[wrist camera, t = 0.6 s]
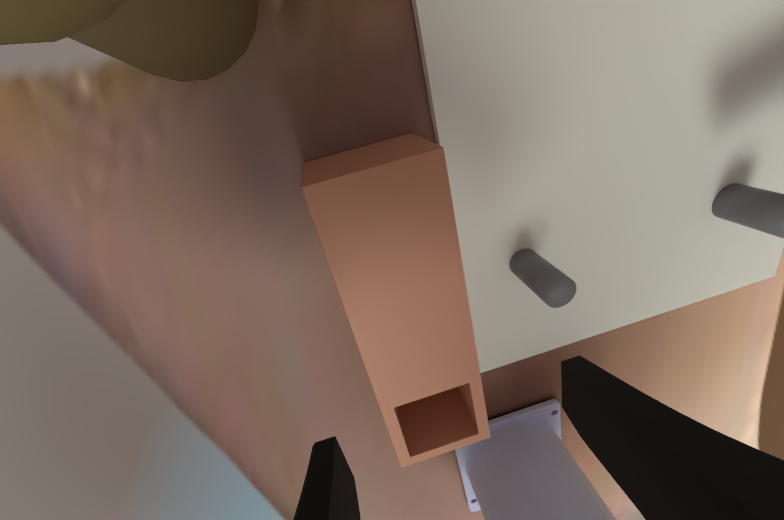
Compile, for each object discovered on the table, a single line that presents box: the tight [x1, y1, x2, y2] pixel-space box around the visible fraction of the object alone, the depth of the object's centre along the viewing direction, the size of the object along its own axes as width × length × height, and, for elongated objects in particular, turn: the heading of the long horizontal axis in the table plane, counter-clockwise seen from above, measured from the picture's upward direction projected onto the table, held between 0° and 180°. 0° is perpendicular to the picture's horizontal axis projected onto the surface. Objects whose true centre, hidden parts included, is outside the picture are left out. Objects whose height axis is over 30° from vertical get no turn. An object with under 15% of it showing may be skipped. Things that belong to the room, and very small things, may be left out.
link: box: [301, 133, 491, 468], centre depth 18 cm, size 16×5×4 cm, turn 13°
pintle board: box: [411, 0, 784, 373], centre depth 16 cm, size 22×21×6 cm
